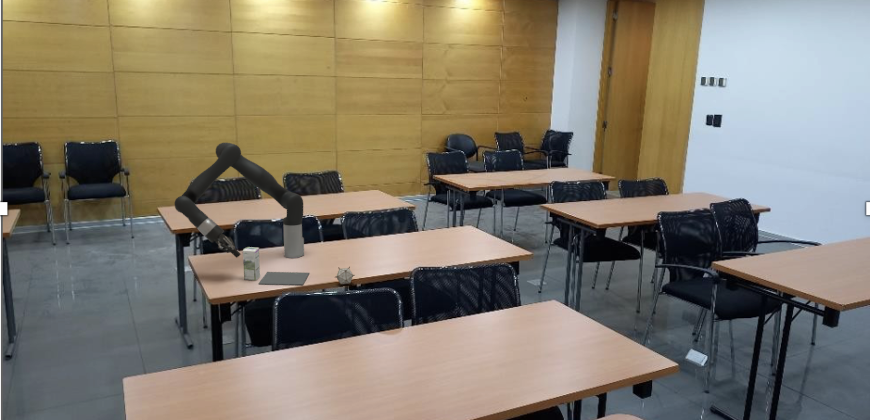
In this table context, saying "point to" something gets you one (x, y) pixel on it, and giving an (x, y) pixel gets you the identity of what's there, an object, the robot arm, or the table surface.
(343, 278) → the spiked polyhedron ball
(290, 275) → the mat
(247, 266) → the syrup box
